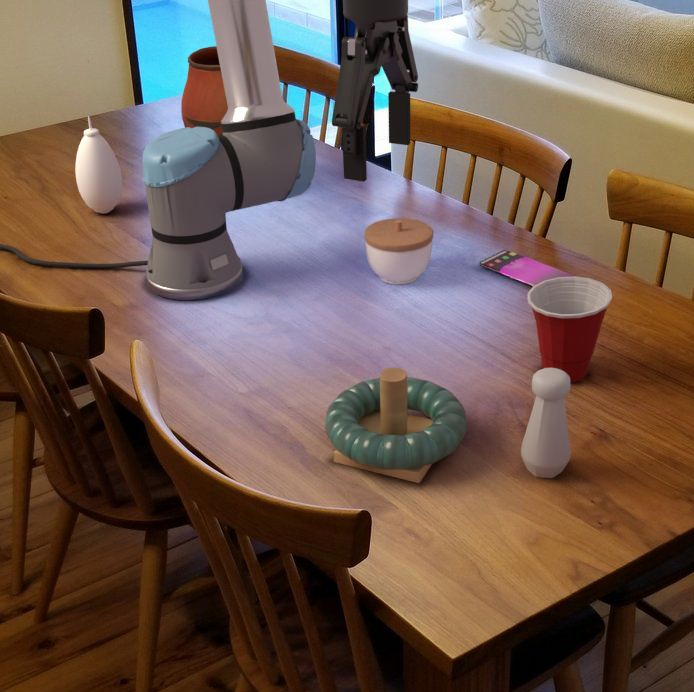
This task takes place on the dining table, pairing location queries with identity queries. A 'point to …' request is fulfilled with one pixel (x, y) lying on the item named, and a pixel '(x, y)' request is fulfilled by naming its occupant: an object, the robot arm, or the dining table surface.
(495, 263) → the smartphone
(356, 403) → the ring
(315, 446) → the dining table surface
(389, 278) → the trinket box
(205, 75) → the terracotta vase
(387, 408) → the peg stand
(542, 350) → the plastic cup
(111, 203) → the white air blower bulb
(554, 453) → the salt shaker
